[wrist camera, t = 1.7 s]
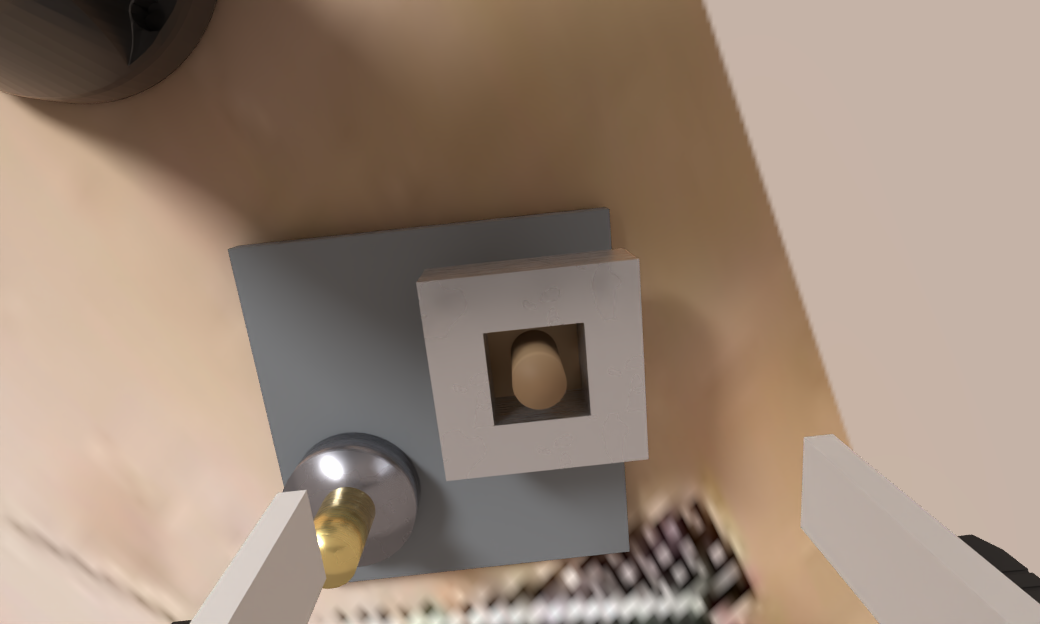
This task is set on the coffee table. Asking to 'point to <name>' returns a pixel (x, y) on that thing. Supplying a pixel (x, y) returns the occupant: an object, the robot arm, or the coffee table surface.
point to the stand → (535, 364)
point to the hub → (357, 500)
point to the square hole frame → (530, 304)
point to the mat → (414, 384)
